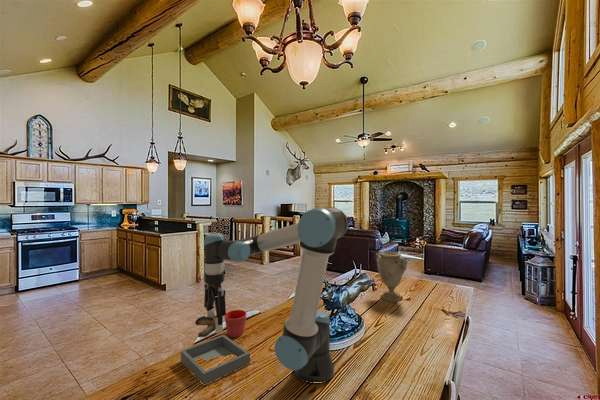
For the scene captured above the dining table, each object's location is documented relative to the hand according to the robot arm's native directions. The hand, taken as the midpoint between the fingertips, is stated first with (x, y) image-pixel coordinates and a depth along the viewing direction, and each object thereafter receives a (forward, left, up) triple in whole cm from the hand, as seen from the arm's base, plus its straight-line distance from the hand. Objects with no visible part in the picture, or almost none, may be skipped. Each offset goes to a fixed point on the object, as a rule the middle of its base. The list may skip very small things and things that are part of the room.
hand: (214, 328), depth 115 cm
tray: (0, 0, -14) cm, 14 cm away
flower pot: (+16, -19, -14) cm, 29 cm away
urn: (-13, -118, -14) cm, 120 cm away
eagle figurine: (0, +3, 0) cm, 3 cm away
